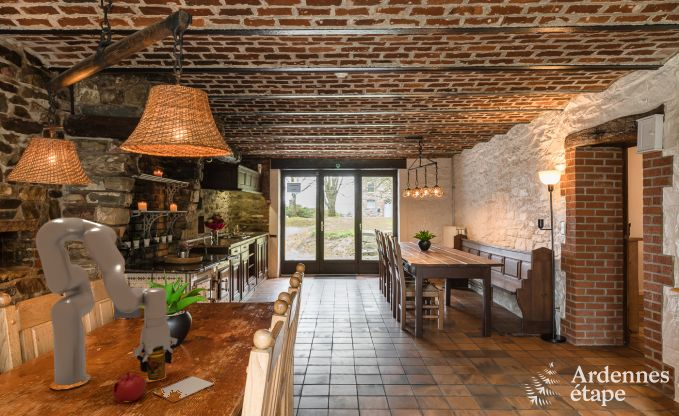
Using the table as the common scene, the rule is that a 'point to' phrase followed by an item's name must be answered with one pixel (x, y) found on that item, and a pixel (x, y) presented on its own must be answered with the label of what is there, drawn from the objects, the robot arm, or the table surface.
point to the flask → (127, 315)
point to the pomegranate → (129, 387)
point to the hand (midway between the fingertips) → (156, 367)
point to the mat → (186, 386)
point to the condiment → (156, 364)
